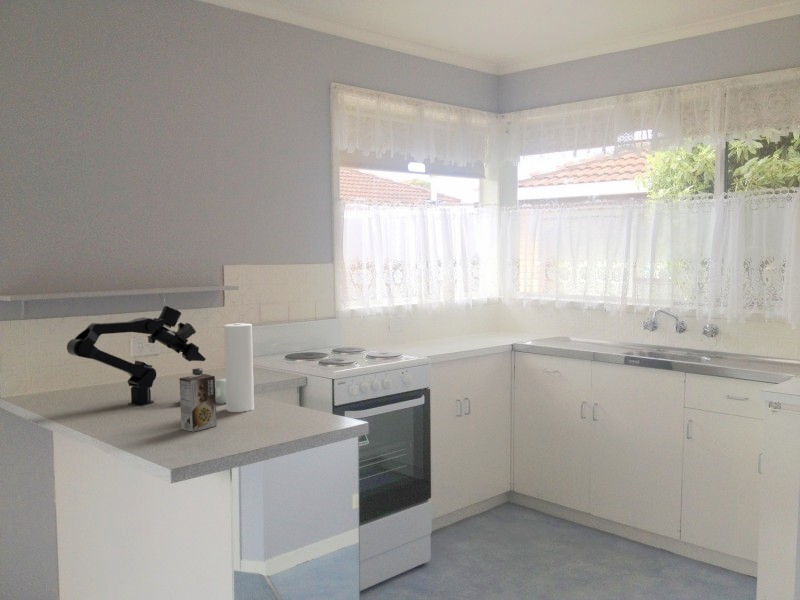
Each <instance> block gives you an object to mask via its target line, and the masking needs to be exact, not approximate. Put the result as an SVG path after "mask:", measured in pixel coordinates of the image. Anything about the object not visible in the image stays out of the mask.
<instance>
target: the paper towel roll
mask: <svg viewBox="0 0 800 600" xmlns="http://www.w3.org/2000/svg"><path fill="white" fill-rule="evenodd" d="M223 329H224V332H223V335H224V360H225V361H224V365H225V366H224V367H225V370H224V371H225V379H226V405H225V407H226V411H227V412H230V413H245V412H244V411H246V412H250V411H249V410H251V411H253V410H254V409H255V395H254V394H255V391H254V387H255V385H254V354H253V353H254V346H253V342H254V341H253V324H252V323H243V322H236V323H230V324H229V323H228V324H224V326H223Z"/></svg>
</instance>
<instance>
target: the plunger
mask: <svg viewBox="0 0 800 600" xmlns="http://www.w3.org/2000/svg"><path fill="white" fill-rule="evenodd" d="M191 371H192V376H194V375H200V374H204V373H203V371H204V370H203V368H201V367H200V368H192V370H191Z"/></svg>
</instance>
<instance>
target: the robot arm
mask: <svg viewBox="0 0 800 600" xmlns="http://www.w3.org/2000/svg"><path fill="white" fill-rule="evenodd" d="M181 315H182V312H181V311H179V310H178V309H175V308H172V307H170V306H169V305H164V306H163V308H162V311H161V313H160V315H158V318H157V317H153V318H152V317H151V318H149V317H138V318H134V319H132V320H128V321H117V322H116V321H115V322H101V323H100V322H99V323H98V322H97V323H96V322H93V323H90V324H89V325H88V326H87V327H86V328H85V329H84V330H82V331H81V332H80V333H78V334H77V336H75V337H74V338H73V339H70V340H69V341H68V343H67V345H66V350H67V353H68V354H69V355H72V356H76V357H79V358H80V357H81V358H83V359H84V358H85V359H89V360H94V361H96V362H99V363H102V364H103V365H107V366H109V367H112V368H114V369H116V370H120V371H122V372H125V373H126V374H127V375H129V376H130V378H128V380H127V384H128V387H130V399H131V402H128V403H127V404H128V405H131V404H135V405H134V406H145V405H148V403H149V404H153V403H154V400H152V395H151V388H153V384H154V381H155V380H156V378H157V370H156V369H155V367H153V365H151V364H148V363H145V362H144V361H140V360H135V361H134V363H133V362H131V361H127V360H125V359H123V358H120V357H118V356H116V355H113V354H110V353H108V352H105V351H103V350H101V349H99V348H98V347H96V346H95V344H96V343H97V341H98V340H99V338H100V336H101V335H108V334H123V333H137V334H146V335H148V336H147V340H148V341H147V342H148V343H150V344H155V342H156V341H157V342H158V343H160V344H162V345H164V346H165V347H167V348H168V349H171V350H173V351H174V352H175V353H177V354H180V353H181V356H182V358H183V359H184V360H186V361H188V362H205V361H206V357H204V356H203V355H202V354H201V353H200V351H199V350H200V347H199V346H197V345H196V344H195V343H193V342H190V343H188V341H189V338H191V336H193V335H195V334H196V333H197V331H196V329H195V328H194V326H193V325H192V324H191V323H188V322H185V323H184V322H179V323H177V322H178V321H179V319H180V317H181ZM176 325H177V328H178V329H177V331H175V330H170V329H171V328H175V326H176ZM144 404H145V405H144Z"/></svg>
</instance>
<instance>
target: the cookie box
mask: <svg viewBox="0 0 800 600" xmlns="http://www.w3.org/2000/svg"><path fill="white" fill-rule="evenodd" d="M215 380H216V378H215V375H211V374H207V373H203V374H200V375H189V376H184V377H183V376H182V377H179V397H180V398H179V399H180V424H181V425H180V426H181V428H180V429H182V430H184V431H188V432H191V431H192V433H193V432H196V431H197V432H198V431H201V430H205V429H209V428H213V427H217V426H218V425H217V424H218V423H217V421H218V420H217V403H216V395H215Z"/></svg>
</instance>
